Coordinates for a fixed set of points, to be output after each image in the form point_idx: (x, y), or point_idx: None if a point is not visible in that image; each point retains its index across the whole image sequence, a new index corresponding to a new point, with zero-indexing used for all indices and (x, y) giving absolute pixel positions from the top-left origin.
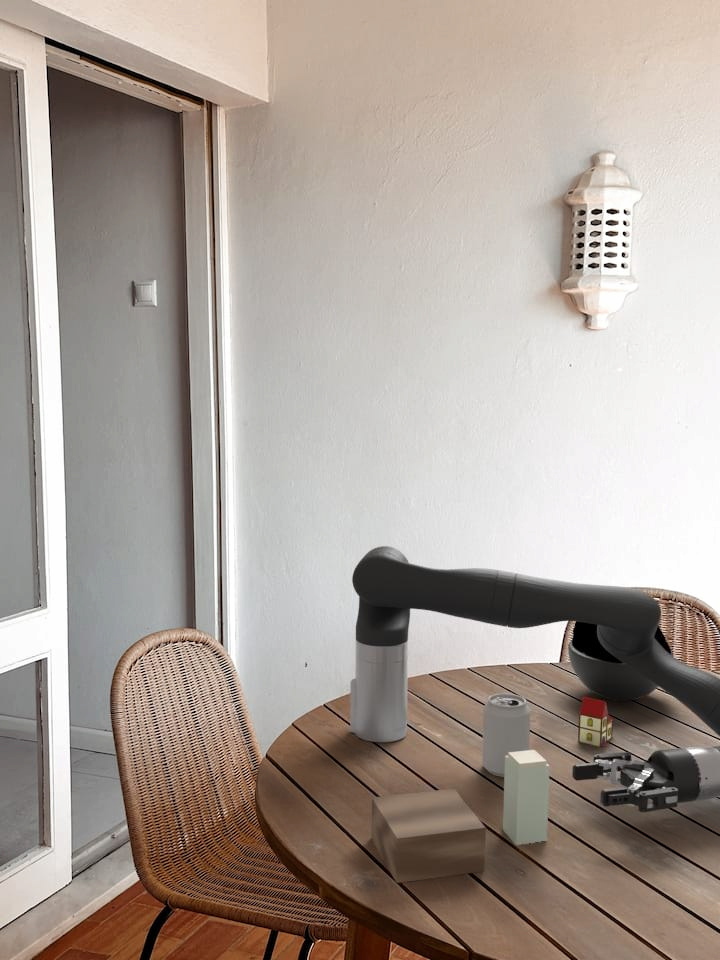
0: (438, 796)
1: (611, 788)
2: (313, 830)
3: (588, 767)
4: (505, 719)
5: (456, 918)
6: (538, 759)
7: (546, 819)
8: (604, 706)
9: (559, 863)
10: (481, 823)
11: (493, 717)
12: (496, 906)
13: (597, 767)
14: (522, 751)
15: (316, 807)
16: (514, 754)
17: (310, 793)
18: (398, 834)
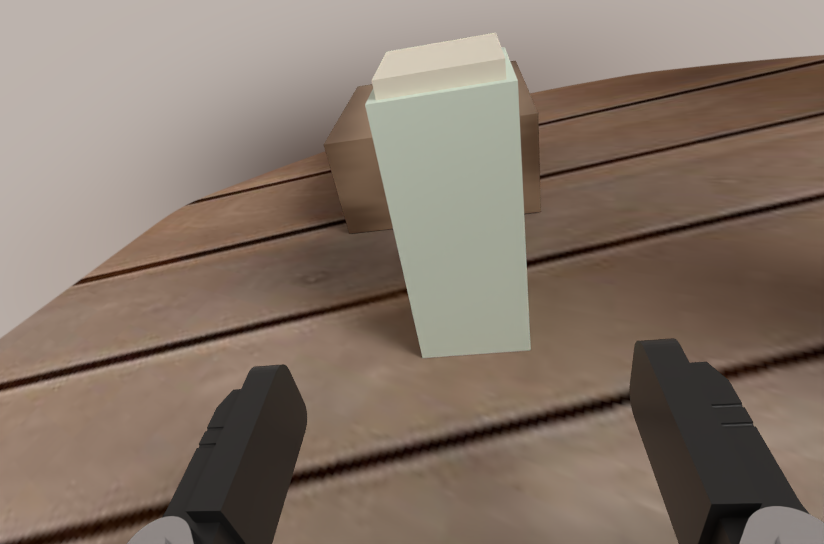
0: None
1: (260, 411)
2: (559, 103)
3: (670, 429)
4: None
5: (253, 198)
6: (397, 69)
7: (409, 297)
8: None
9: (300, 351)
10: (343, 140)
11: None
12: (242, 234)
13: (703, 516)
14: (494, 45)
15: (646, 98)
16: (470, 39)
17: (708, 89)
18: (369, 86)
